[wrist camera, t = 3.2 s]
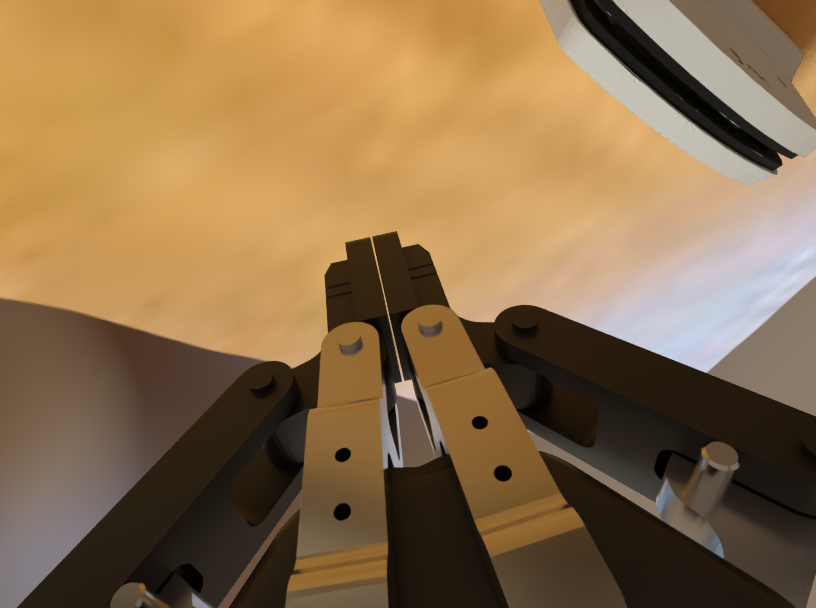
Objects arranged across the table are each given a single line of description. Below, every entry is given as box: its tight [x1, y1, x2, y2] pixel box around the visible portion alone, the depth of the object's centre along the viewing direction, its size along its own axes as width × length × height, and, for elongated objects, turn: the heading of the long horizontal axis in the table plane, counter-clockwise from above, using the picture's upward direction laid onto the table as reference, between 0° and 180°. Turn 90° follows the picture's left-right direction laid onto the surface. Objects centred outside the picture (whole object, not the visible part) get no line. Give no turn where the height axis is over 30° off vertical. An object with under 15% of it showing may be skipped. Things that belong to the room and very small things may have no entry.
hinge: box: [540, 0, 816, 185], centre depth 24 cm, size 17×5×10 cm, turn 60°
